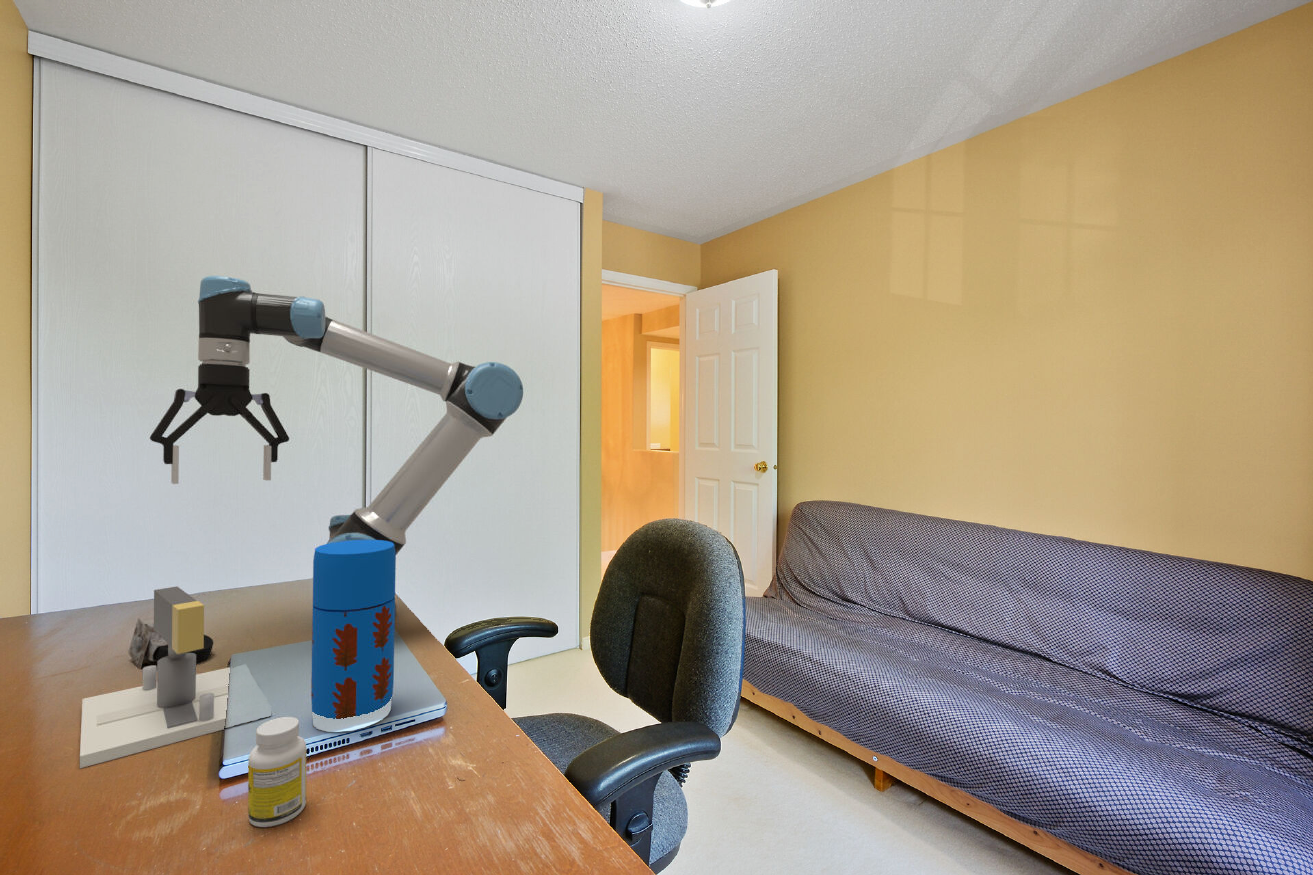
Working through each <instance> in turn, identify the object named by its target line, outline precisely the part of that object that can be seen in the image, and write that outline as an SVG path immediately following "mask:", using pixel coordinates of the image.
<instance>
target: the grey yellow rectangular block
mask: <svg viewBox="0 0 1313 875" xmlns="http://www.w3.org/2000/svg"><path fill="white" fill-rule="evenodd" d="M153 623H154V630H155V631H156V632H157V633H158V634H159V635H160V636H161V637H162V638H163V639H164V640H165V641H166V642H167V643H168V658H171V659H173V658H180V657H183V656H185V655H186V652H189V651H194V650H198V649H203V648H204V635H205V633H204V632H205V631H204V630H205V605H204V604H203V603H202V602H201V601H199V600H196V598H194V597H193V596H191V595H190V594H189V593H187V592H185V590H183V589H182V588H180V587H179V586H171V587H165V588H164V587H163V588H160V589H159V588H158V589H157V588H156V589H154V590H153Z"/></svg>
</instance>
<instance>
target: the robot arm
mask: <svg viewBox="0 0 1313 875" xmlns="http://www.w3.org/2000/svg"><path fill="white" fill-rule="evenodd" d="M199 287H200V288H199V297H198V300H197V304H198V354H197V357H198V361H199V362H202V363H200V364H199V365H198V368H197V369H198V370H197V388H196V391H194V390H193V391H192V390H185V389H184V388H178V389H176V390H175V392H174V397H173V398H174V399H173V402H172V403H171V405H170V406H169V408H168V409H167V411H166V412H165V414H164V415H163V416H162V418H161V419H160V422H158V424H157V426H156V427H155V428H154V430H153V431H152V433H151V434H150V436H149V439H150V440H151V442H154V443H157V444H161V445H162V447H163V449H162V450H163V452H162V453H163V456H162V458H163V459H162V460H163V463H164V465H171V482H170V483H171V484H173V485H178V484H179V469H180V468H179V466H180V465H179V463H180V461H179V460H180V458H179V457H180V456H179V455H180V446H179V445H176V444H175V443H176V442H177V441H178V440H179V439H180V438H181V437H182V436H183V435H185V434H186V433H187V432H188V431H190V429H192V427H193V426H195V425H196V424H197V423H198V422H199V421H200V420H201V419H202V418H204V417H205V416H206V415H207V414H209V415H211V416H216V417H217V416H227V417H235V416H239V415H240V417H242V418H243V419H244V420H245V421H246V422H247V423H248V424H249V425H250V426H251V427H252V428H253V429H254V430H255V431H256V432H257V433H258V434H259V435H260V436H261V437H262V439H264V440H265V441H266V442H267V443H268V444H266V445H263V468H262V472H263V478H262V479H263V480H264V481H271V480H272V463H277V462H278V457H279V455H278V452H279V451H278V450H279V449H278V448H279V445H280V444H283V443H288V442H289V440H290V437H289V435H288V434H287V431H286V430H285V428H284V426H283V424H282V422H281V421H280V419H279V417H278V415H277V412H276V411H275V410H274V408H273V406H272V402H271V397H270V396H271V395H270V394H269V393H267V392H262V393H257V394H256V393H255V394H252V393H251V390H250V368H249V367H247V366H246V365H249V364H250V356H251V354H250V351H251V350H250V348H251V347H250V342H251V340H250V338H251V334H252V335H253V334H254V335H263V336H264V335H265V336H275V337H282V338H283V339H285V340H286V341H287V342H288V343H290V344H292V345H294V346H296V347H299V348H306V349H309V350H312V351H315V352H318V353H321V354H323V355H327V356H329V357H332V358H336V359H338V360H341V361H344V362H347V363H349V364H352V365H355V366H358V367H361V368H363V369H366V370H369V371H372V372H374V373H377V374H380V375H383V376H385V377H386V376H387V377H388V378H392V379H394V380H397V381H400V382H403V383H405V384H407V385H408V384H409V385H411V386H414V387H416V388H419V389H423V390H425V391H428V392H431V393H434V394H437V395H439V396H440V399H441V400H442V401H443V402H445V406H446V413H445V414H444V415H443V416H442V418H441V419H440V420H439V422H438V423H436V425H435V426H434V427H433V429H432V430H431V431H430V432H429V433H428V435H427V436H426V437H425V438H424V439H423V441H422V442H421V443H420V444H419V445H418V446H417V448H416V449H415V450H414V452H413V453H412V454H411V455H410V456H409V457H408V459H407V460H406V461H405V462H404V463H403V465H402V466H401V467H400V468H399V469H398V471H397V472H396V473H395V474H394V476H393V477H392V478H391V479H390V480H389V482H387V484H386V485H384V487H383V489H381V491H380V492H379V494H377V495H376V497H375V498H374V499H373V501H371V503H370V504H369V505H368V506H366V507H361V508H355V510H354V511H353V512H352V513H351V514H343V515H333V516H332V517H331V518H330V521H329V526H328V531H329V539H328V541H327V542H326V544H328V543H334V542H340V541H350V540H382V541H389V542H392V543H393V544H394V545H395V554H396V556H397V555H398V554H399V552H400V551H401V550H402V549H403V547H404V546H405V545H406V544H407V539H406V538H407V537H406V531H407V530H408V529H409V528H410V526H411V525H412V524H413V523H414V521H415V520H416V518H418V516H419V515H421V513H422V511H423V510H424V509H425V508H426V506H427V505H428V504H429V503H430V502H431V500H432V499H433V498H434V497H435V496H436V494H437V493H438V492H439V490H440V489H441V488H442V487H443V486H444V484H445V483H446V481H448V479H449V478H450V477H451V475H453V473H454V472H455V471H456V469H458V467H459V466H460V465H461V463H462V462H463V461H464V460H465V458H466V457H467V456H468V455H469V453H471V451H472V449H473V448H475V446H476V444H477V443H478V442H480V440H481V439H482V438H488V437H493V436H494V434H495V433H496V432H497V430H498V429H499V428H500V426H502V424H503V423H504V422H505V420H506V419H507V418H508V417H510V416H512V415H513V414H515V413H516V412H517V411H518V409H519V407H520V406H521V404H522V401H523V396H524V387H523V383H522V380H521V378H520V376H519V374H518V373H517V372H516V371H515V370H514V369H512V368H511V367H510V366H509V365H506V364H504V363H500V362H496V361H487V362H482V363H481V364H478V365H477V366H472V365H469V364H465V363H463V362H460V361H456V362H452V363H451V362H447V361H446V360H445V361H444V360H442V359H439V358H437V357H434V356H431V355H429V354H426V353H424V352H421V351H419V350H416V349H413V348H410V347H407V346H404V345H402V344H400V343H396V342H395V341H392V340H390V339H389V340H388V339H386V338H383V337H381V336H378V335H376V334H373V333H371V332H367V331H365V330H363V329H360V328H357V327H354V326H353V325H352V326H351V325H349V324H346V323H343V322H340V321H338V320H336V319H332V318H330V317H328V316H326V309H325V305H324V303H323V301H321V300H320V299H318V298H309V297H306V296H291V295H281V294H278V295H277V294H268V293H257V292H254V291H253V290H252V289H251V288H252V287H251V284H250V283H249V282H247V281H246V280H244V279H240V278H234V277H228V276H224V275H223V276H221V275H210V276H209V275H208V276H205V277H203V278H202V279H201V280H200V286H199ZM193 398H194V399H195V400H196V401H197V403H198V404H199V405H200V407H199V408H197V409H196V410H195V411H194V412H193V413H192V414H191V415H190V416H189V417H188V418H187V419H185V420H184V421H183V422H181V424H180V425H179V426H178V427H177V428H175V429H174V431H172V432H171V433H170V434H168V436H167V437H166V436H163V435H164V434H165V433H166V431H167V430H168V428H169V426H170V425H171V423H172V422H173V420H174V419H175V417H176V416H177V415H178V413H179V411H180V410H181V408H182V407H183V405H184V403H189V402H190V400H191V399H193ZM252 401H254V402H255V403H256V405H258V406H260V407H261V410H262V411H263V413H264V415H265V417H266V419H267V421H268V422H269V424H270V425H271V427H272V429H273V430H274V433H275V435H276V436H277V437H275V436H274V435H273V434H272V433H271V432H270V431H269V430H268V429H267V428H266V427H265V426H264V425H263V423H261V422H260V420H258V419H257V417H255V415H254V414H253V413H252V412H251V410H249V408H248V407H247V406H249V404H250V403H251V402H252ZM174 444H175V445H174ZM396 603H397V602H395V618H396V617H397V604H396Z"/></svg>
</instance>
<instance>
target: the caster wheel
mask: <svg viewBox="0 0 1313 875" xmlns="http://www.w3.org/2000/svg"><path fill="white" fill-rule="evenodd" d="M213 646H214V640H213V639H212V638H211V637H210V636H209V635H206V634H204V648H203V649H198V650H194V651H189V652H186V653H194V654H196V665H197V664H200V663H203V662H205V661H206V660H208V659H209V657H210V656H211V653H212V650H213ZM127 653H128V655H129V656H130V658H131V659H132V661H133V662H134V664H135V665H136V667H137V669H138V670H141V669H142V666H143V665H142V664H144V660H149V661H151V662H155V663H157V662H158V660H160V659H161V658H164V657H166V656H168V643H167V642H166V641H165V640H164V639H163V638H162V637H161V636H160V635H159V634H158V633H157V632H156V631H155V630H154V622H148V623H147V622H146V623H144V622H143V620H142V619H141V618H140V617H138V618H137V622H136V624H135V628H134V632H133V635H132V638H131V642H130V645H129V649H128V652H127Z"/></svg>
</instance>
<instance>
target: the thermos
mask: <svg viewBox="0 0 1313 875" xmlns="http://www.w3.org/2000/svg"><path fill="white" fill-rule="evenodd" d="M396 558H397V555H396V554H395V545H394V544H393V543H392V542H389V541H382V540H350V541H340V542H334V543H328V544H327V543H324V544H321V545H319V546H316V547H315V548H314V555H313V562H312V563H313V564H312V570H313V571H312V619H311V620H312V621H311V622H312V624H311V628H312V629H311V631H312V632H311V682H310V683H311V684H310V685H311V687H310V689H311V692H310V694H311V695H310V696H311V713H312V712H314V713H315V714H317V715H320V716H324V717H326V718H333V719H335V718H336V719H341V718H343V719H344V718H347V717H353V716H360V715H362V714H368V713H370V712H374V711H375V710H378V709H380V708H382V707H383V706H385V705H386V704H387V703H388V702H389V701H390V699H391V697H392V695H393V694H394V677H395V676H394V675H395V674H394V673H395V669H394V668H395V667H394V666H395V618H396V617H395V603H396V597H395V596H396V569H397V568H396V567H397V566H396V565H397V564H396V562H397V561H396V560H397V559H396ZM392 698H393V697H392Z"/></svg>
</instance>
